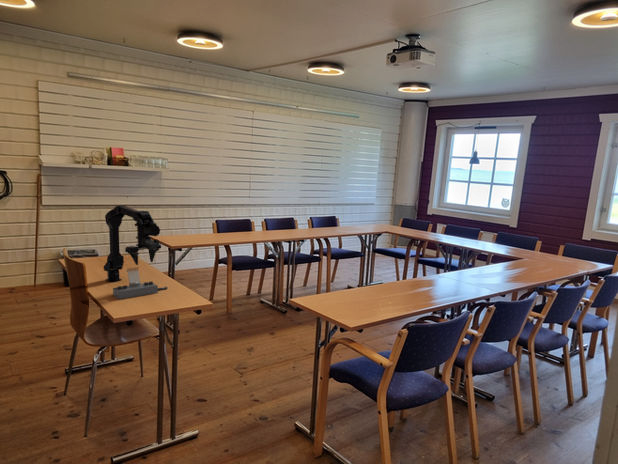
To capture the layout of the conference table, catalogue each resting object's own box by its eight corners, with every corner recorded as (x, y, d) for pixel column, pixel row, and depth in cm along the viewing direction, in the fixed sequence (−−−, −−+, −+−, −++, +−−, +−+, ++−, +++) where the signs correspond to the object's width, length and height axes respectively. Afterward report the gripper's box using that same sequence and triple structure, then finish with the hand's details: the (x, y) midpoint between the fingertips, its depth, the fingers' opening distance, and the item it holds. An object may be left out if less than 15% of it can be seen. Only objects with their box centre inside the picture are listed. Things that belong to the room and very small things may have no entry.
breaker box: (113, 295, 220) (112, 285, 219) (163, 287, 238) (163, 277, 238) (118, 299, 214) (118, 289, 213) (170, 290, 233) (170, 280, 232)
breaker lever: (129, 286, 223) (126, 268, 224) (139, 285, 226) (136, 267, 227) (130, 286, 221) (127, 268, 222) (141, 284, 225) (138, 267, 226)
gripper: (137, 238, 217) (139, 268, 219) (167, 234, 233) (168, 262, 235) (124, 236, 223) (125, 265, 225) (154, 232, 239) (155, 260, 241)
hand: (144, 263), depth 231 cm, fingers open, 9 cm apart
